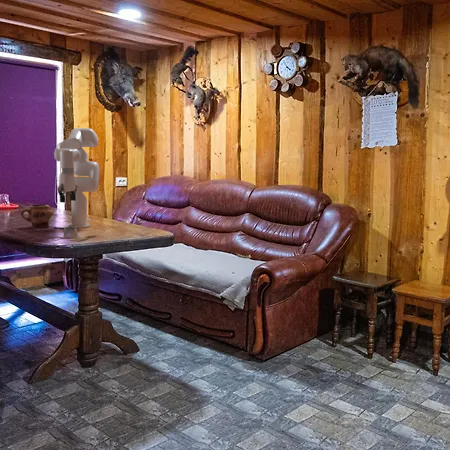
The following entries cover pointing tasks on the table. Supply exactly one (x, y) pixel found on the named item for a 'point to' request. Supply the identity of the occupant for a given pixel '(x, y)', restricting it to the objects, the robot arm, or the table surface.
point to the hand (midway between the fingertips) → (67, 201)
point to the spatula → (82, 238)
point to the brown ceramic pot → (38, 215)
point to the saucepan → (69, 231)
